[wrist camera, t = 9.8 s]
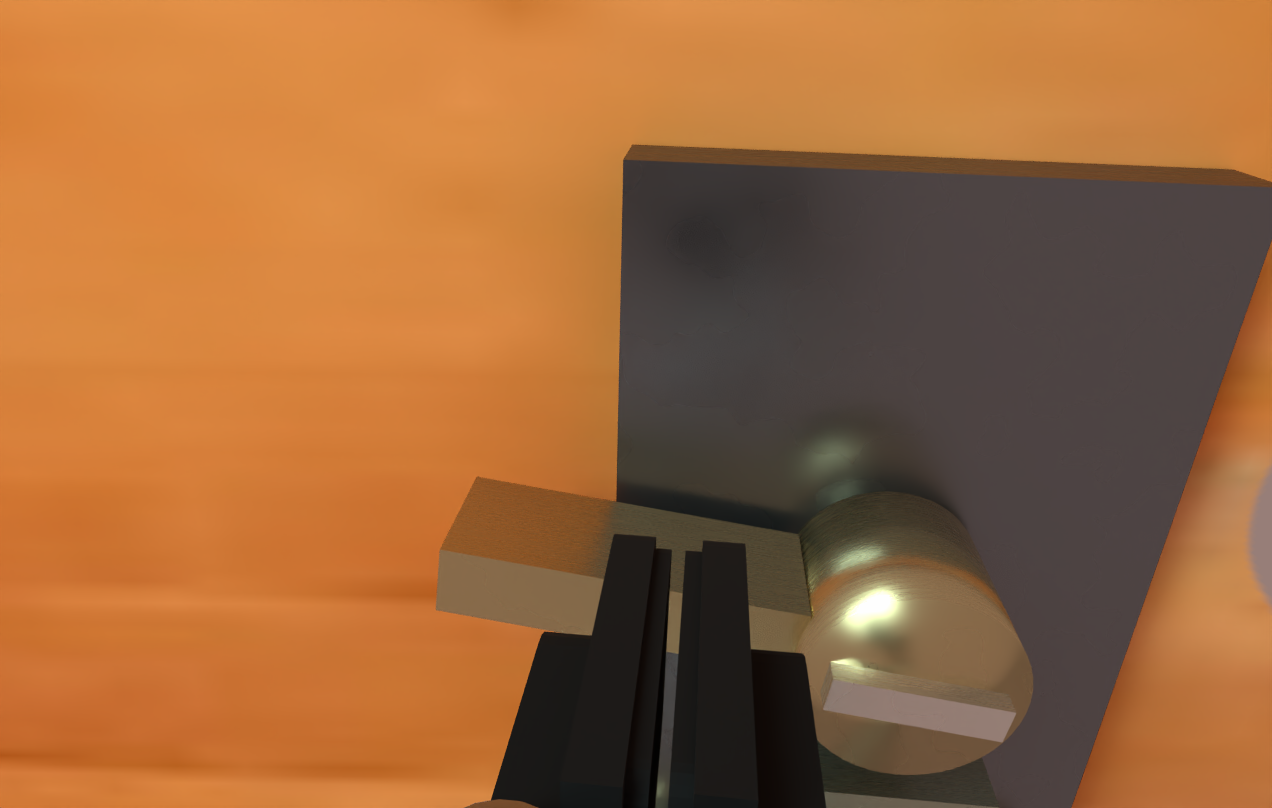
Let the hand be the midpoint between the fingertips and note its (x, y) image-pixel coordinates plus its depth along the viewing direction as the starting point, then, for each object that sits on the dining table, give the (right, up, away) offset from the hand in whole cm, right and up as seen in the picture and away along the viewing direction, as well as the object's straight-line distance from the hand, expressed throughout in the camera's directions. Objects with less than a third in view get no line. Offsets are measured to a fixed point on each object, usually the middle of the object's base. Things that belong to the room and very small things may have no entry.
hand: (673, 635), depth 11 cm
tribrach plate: (+6, -2, +13) cm, 14 cm away
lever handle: (+2, 0, +10) cm, 10 cm away
